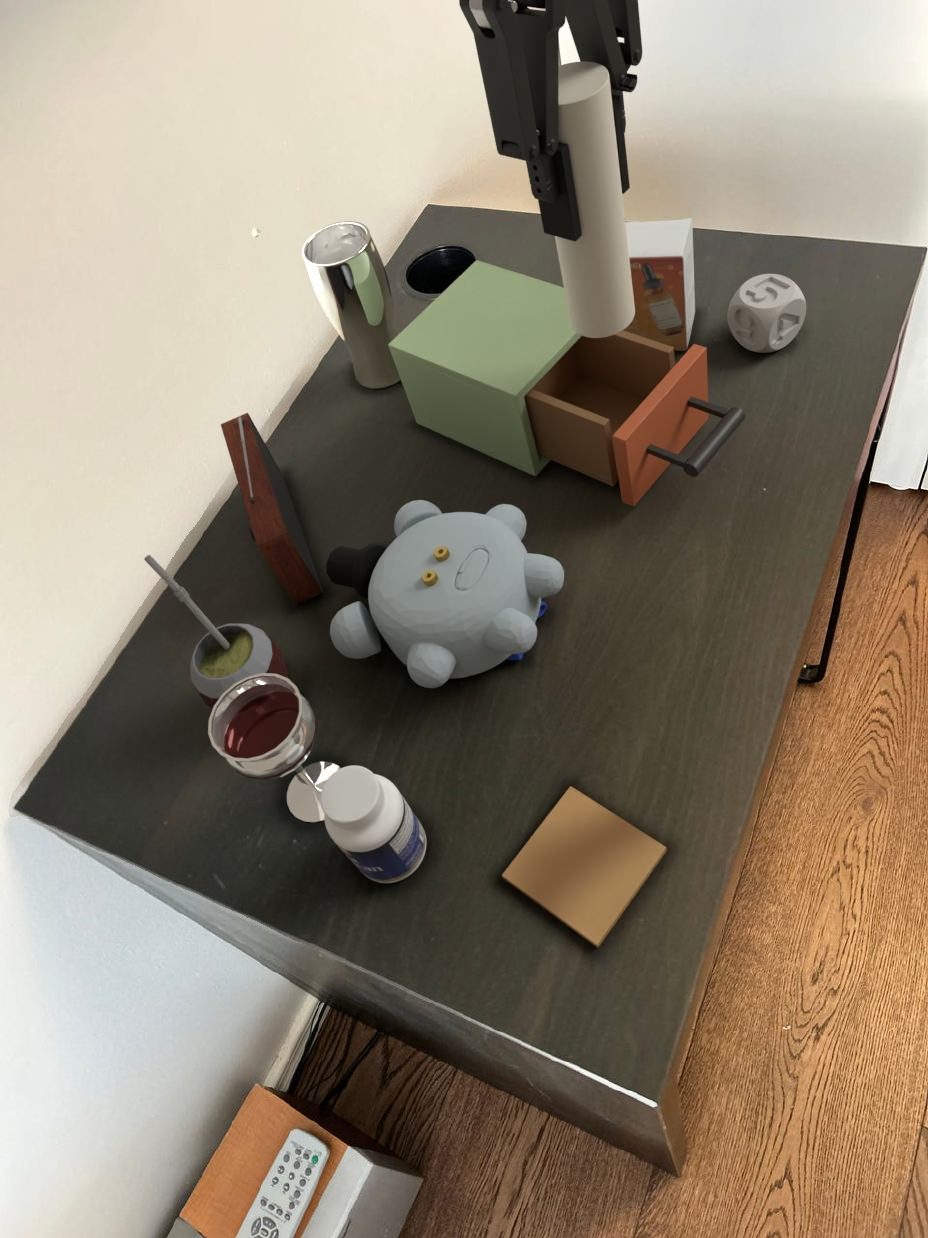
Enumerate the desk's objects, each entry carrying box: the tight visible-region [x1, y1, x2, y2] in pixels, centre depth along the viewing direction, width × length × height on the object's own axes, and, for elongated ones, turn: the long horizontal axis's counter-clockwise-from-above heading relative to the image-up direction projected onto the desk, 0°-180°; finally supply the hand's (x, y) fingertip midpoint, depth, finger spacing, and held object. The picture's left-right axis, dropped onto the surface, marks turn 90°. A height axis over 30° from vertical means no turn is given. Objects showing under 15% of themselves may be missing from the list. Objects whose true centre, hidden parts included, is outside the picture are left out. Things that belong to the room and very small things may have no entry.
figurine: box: [325, 499, 565, 689], centre depth 78 cm, size 17×8×20 cm
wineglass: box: [207, 673, 342, 823], centre depth 69 cm, size 7×7×12 cm
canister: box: [537, 61, 635, 338], centre depth 68 cm, size 5×5×18 cm
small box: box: [623, 217, 696, 352], centre depth 90 cm, size 8×6×10 cm
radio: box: [220, 412, 324, 606], centre depth 83 cm, size 19×3×15 cm, turn 20°
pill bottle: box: [320, 764, 427, 884], centre depth 66 cm, size 5×5×10 cm
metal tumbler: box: [301, 220, 401, 390], centre depth 94 cm, size 7×7×15 cm
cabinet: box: [388, 259, 582, 477], centre depth 89 cm, size 15×13×10 cm
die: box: [726, 273, 807, 354], centre depth 88 cm, size 5×5×5 cm
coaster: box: [501, 785, 668, 948], centre depth 66 cm, size 8×8×1 cm
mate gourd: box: [143, 554, 289, 710], centre depth 74 cm, size 8×8×15 cm
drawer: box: [524, 330, 746, 507], centre depth 82 cm, size 18×12×8 cm, turn 50°
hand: (587, 209), depth 67 cm, fingers closed on canister, 5 cm apart
